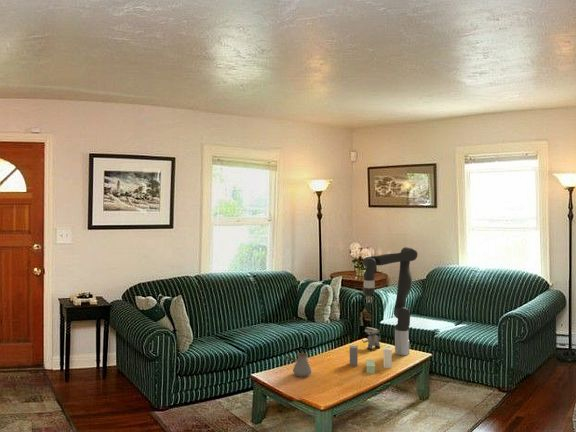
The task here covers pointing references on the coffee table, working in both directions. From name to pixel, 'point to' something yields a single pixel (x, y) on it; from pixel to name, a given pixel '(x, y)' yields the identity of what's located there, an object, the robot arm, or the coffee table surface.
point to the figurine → (372, 338)
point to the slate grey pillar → (353, 355)
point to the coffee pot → (301, 365)
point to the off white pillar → (387, 357)
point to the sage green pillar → (370, 366)
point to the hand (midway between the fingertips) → (368, 311)
